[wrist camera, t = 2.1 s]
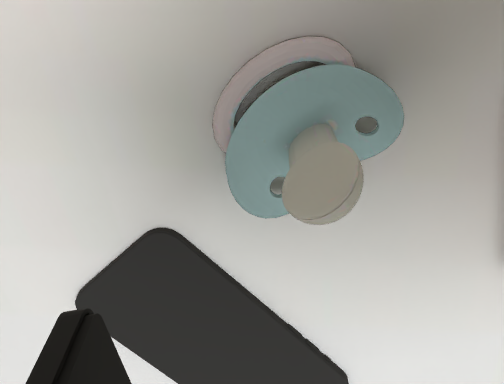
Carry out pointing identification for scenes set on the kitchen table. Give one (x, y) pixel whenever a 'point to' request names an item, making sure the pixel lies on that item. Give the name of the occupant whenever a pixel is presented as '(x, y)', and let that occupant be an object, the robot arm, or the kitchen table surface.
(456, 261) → the kitchen table surface
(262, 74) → the pacifier
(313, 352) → the phone
